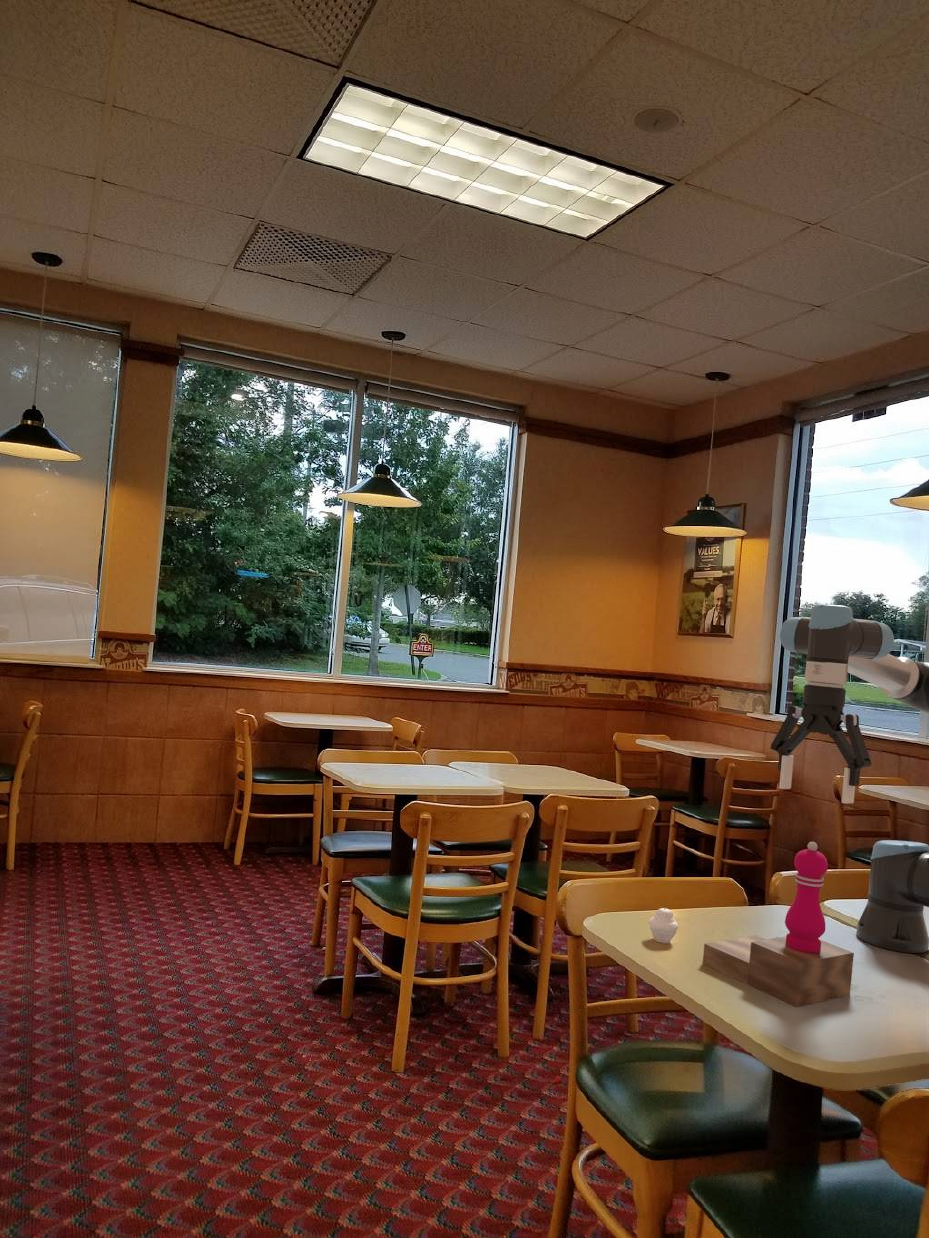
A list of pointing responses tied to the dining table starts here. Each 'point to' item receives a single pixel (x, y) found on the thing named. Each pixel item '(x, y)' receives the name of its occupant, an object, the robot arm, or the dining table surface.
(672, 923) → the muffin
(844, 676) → the robot arm
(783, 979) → the step stand
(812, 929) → the pepper mill
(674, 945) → the dining table surface
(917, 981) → the dining table surface
